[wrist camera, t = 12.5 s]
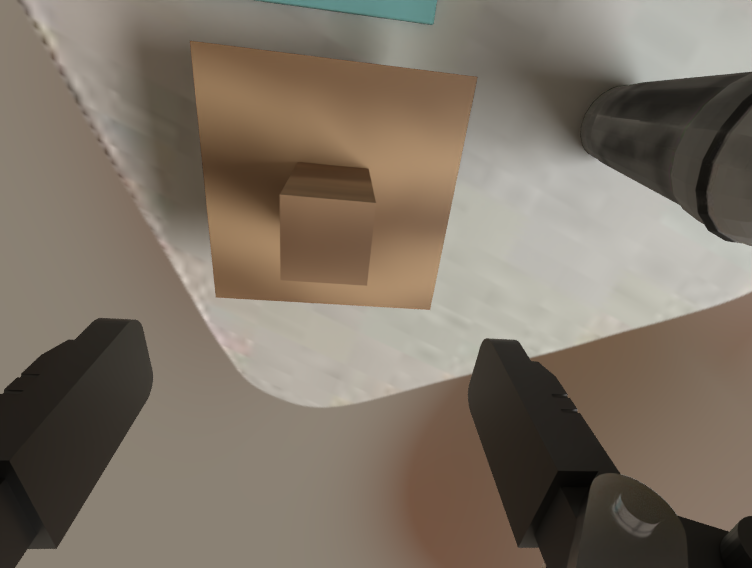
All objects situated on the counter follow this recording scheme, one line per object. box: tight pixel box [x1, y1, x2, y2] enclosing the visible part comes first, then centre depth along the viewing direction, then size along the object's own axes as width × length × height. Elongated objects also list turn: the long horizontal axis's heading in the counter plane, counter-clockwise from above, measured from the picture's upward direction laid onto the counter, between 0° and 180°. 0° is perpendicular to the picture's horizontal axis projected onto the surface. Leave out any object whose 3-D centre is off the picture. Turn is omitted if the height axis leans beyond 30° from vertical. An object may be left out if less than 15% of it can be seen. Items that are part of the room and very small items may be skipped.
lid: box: [190, 41, 477, 310], centre depth 18 cm, size 13×13×7 cm
